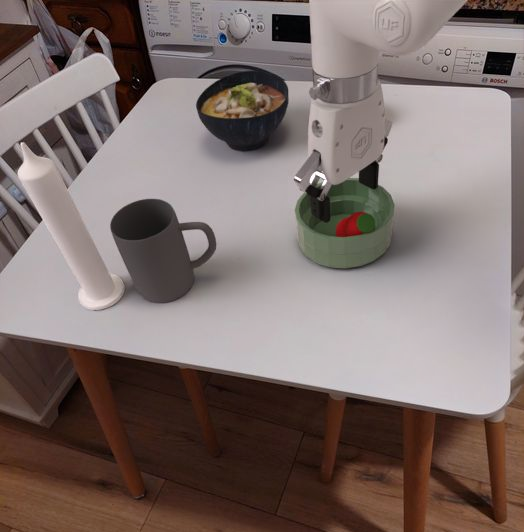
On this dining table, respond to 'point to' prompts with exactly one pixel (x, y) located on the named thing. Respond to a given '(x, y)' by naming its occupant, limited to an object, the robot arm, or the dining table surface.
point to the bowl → (244, 108)
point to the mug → (157, 248)
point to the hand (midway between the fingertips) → (344, 201)
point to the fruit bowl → (341, 206)
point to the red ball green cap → (342, 228)
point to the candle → (69, 231)
